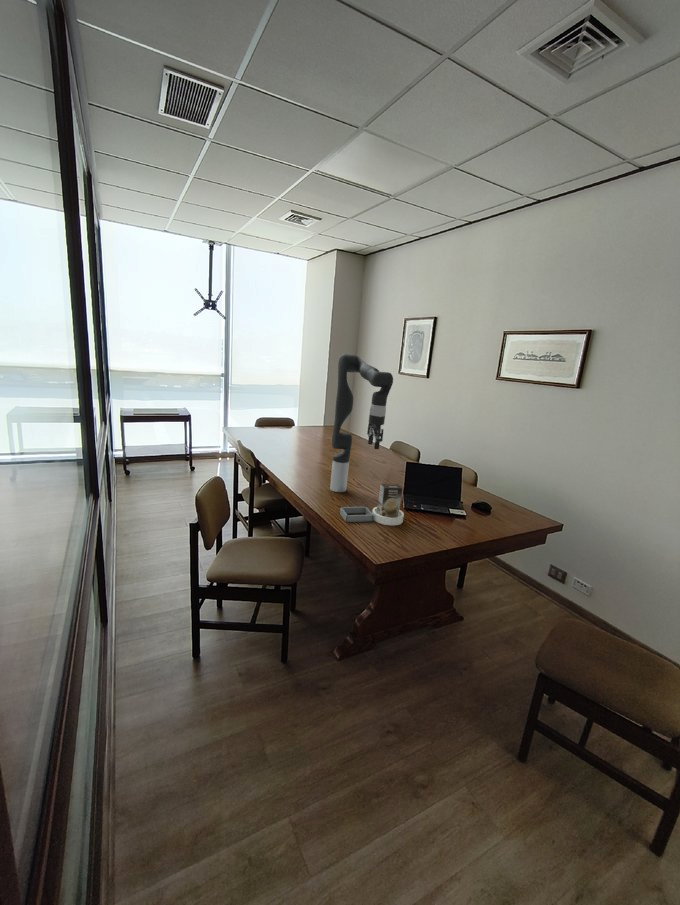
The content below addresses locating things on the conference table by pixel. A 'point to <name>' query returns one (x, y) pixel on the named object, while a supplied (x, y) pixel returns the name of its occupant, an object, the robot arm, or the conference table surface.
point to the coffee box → (389, 500)
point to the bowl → (387, 518)
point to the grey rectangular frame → (356, 518)
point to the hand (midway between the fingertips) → (373, 446)
